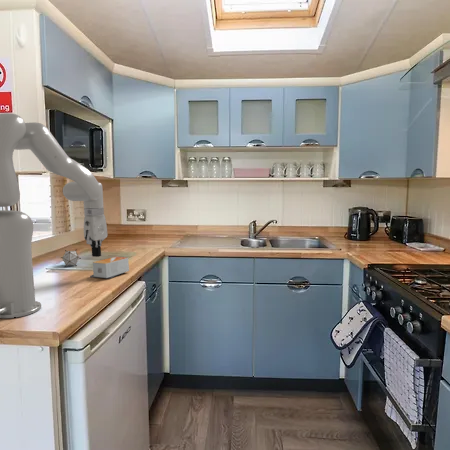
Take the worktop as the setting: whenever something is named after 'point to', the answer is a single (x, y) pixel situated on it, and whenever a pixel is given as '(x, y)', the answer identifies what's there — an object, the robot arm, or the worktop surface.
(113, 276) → the rubber mat
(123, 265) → the small box
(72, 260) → the game die
